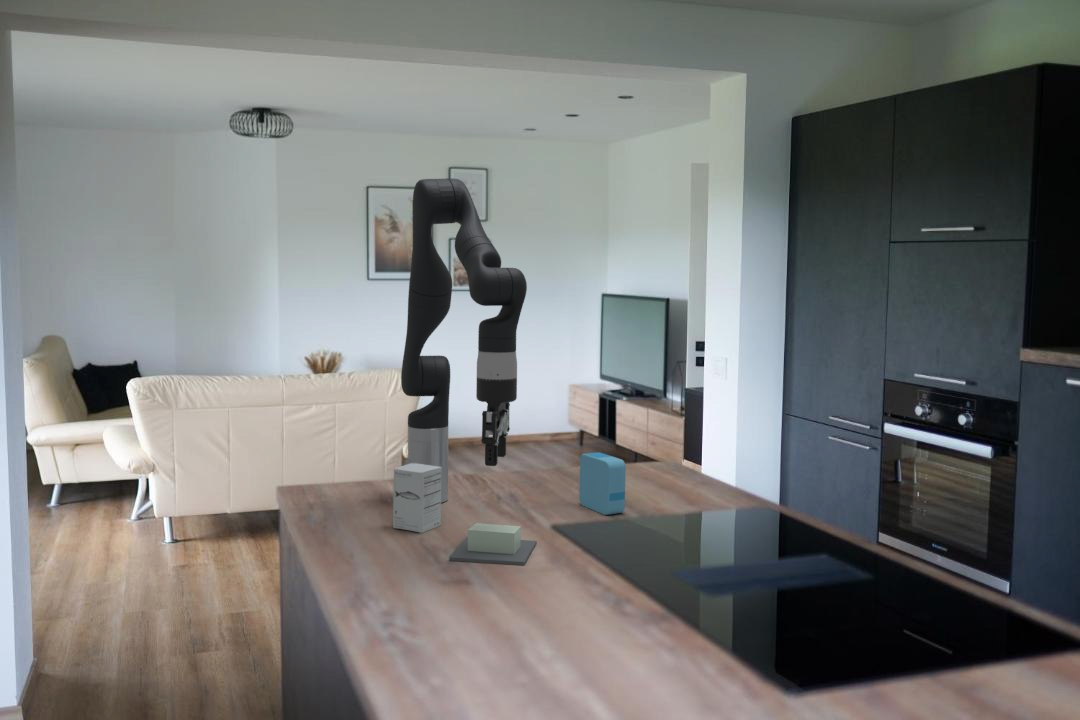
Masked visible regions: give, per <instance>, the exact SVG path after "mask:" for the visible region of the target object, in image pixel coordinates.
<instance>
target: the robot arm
mask: <svg viewBox="0 0 1080 720" xmlns="http://www.w3.org/2000/svg"><path fill="white" fill-rule="evenodd" d="M412 193H413V194H412V210H411V211H412V247H411V248H412V251H411V252H412V253H411V263H410V275H409V283H408V284H409V285H408V286H409V287H408V296H407V298H408V299H407V300H408V301H407V324H406V336H405V342H404V350H403V357H402V364H401V365H402V366H401V374H400V375H401V376H400V381H401V382H400V383H401V384H400V385H401V390H402V392H403V394H405V395H406V396H408V397H433V399H432V400H431V402H429V403H428V404H427V405H425V406H423V407H420V408H418V409H416V410H414V411H413V410H412V411H411V412H410V413H409V414H408V415H407V458H406V459H405V460H404V465H407V464H410V463H417V464H424V465H431V466H438V467H442V473H441V503H444V502H446V501H448V499H449V418H450V417H449V412H450V411H449V409H450V388H451V364H450V361H449V359H448V358H447V357H446V356H445V355H421V354H422V350H423V348H424V346H425V344H426V342H427V341H428V339H429V338H430V336H432V334H433V333H434V332H435V331H436V329H437V328H438V327H440V325H441V324H442V322H443V321H444V319H445V318H446V317H447V315H448V314H449V311H450V309H451V301H452V293H453V279H452V275H451V272H450V271H449V269H448V267H447V265H446V263H445V262H444V260H443V259H442V258H441V256H440V254H439V253H438V250H437V248H436V246H435V245H434V242H433V235H432V234H433V233H432V230H433V229H432V228H433V225H444V224H446V225H447V224H455V223H457V224H458V225H460V226H459V229H458V231H457V233H456V235H455V238H454V251H455V254H456V257H457V259H458V260H459V262H460V263H461V265H462V266H463V268H464V270H465V272H466V276H467V280H468V281H467V282H468V290H469V291H468V292H469V294H470V295H469V296H470V298H471V299H472V301H473V302H475V304H478V305H479V306H484V307H489V306H491V307H492V306H493V307H494V306H495V307H496V306H497V307H498V306H499V307H500V306H501V308H500V310H499V312H498V314H497V315H496V316H494V317H490V318H485V319H484V320H481V321H480V322H479V324H478V343H477V344H478V345H477V349H478V351H477V358H476V359H477V361H476V394H475V395H476V400H477V401H479V402H480V403H481V402H482V403H486V404H487V405H486V410H483V411H482V413H481V416H482V417H481V418H482V419H481V420H482V423H481V424H482V426H481V444H483V445H484V465H485V466H487V467H496V466H497V465H498V458H504V457H506V455H507V437H508V434H509V432H510V430H511V428H510V407H511V406H510V405H511V403H512V402H515V401H516V400H517V399H518V398H517V397H518V395H517V394H518V388H517V387H518V386H517V385H518V359H517V330H518V326H519V321H520V317H521V313H522V309H523V305H524V302H525V299H526V295H527V290H528V285H527V279H526V277H525V274H524V273H523V272H522V271H521V270H520V269H519V268H516V267H502V258H501V256H500V254H499V252H498V250H497V249H496V248H495V246H494V244H493V243H492V241H491V239H489V237H488V235H487V233H486V231H485V229H484V227H483V224H482V221H481V220H480V216H479V214H478V209H477V208H476V206H475V203H474V201H473V197H472V196H471V193H470V190H469V189H468V187H467V186H466V184H465V183H464V182H463V181H462V180H460V179H458V178H448V177H447V178H421V179H419V180H417V182H416V183H415V186H414V189H413V192H412Z"/></svg>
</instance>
